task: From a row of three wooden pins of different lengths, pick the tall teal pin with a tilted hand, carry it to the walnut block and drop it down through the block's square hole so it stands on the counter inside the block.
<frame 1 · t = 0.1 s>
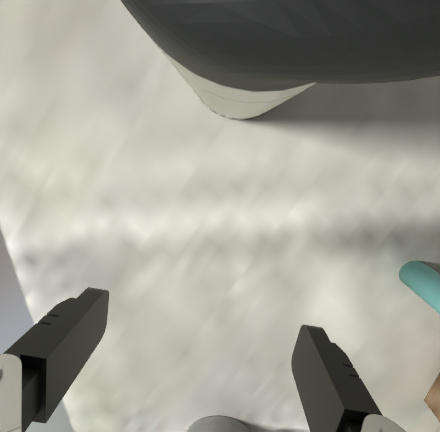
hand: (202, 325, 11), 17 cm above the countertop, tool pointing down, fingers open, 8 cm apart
teal pin: (413, 272, 29), on the countertop
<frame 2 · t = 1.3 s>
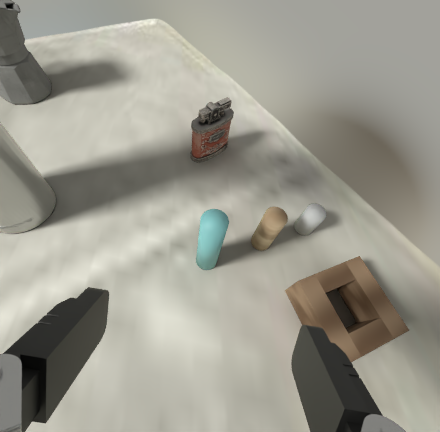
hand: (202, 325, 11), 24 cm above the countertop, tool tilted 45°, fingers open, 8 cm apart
grey pin: (303, 227, 42), on the countertop
beech pin: (260, 241, 40), on the countertop
teal pin: (206, 260, 37), on the countertop
walnut block: (332, 311, 36), on the countertop
coffeepot: (22, 89, 50), on the countertop
lighter: (209, 151, 48), on the countertop
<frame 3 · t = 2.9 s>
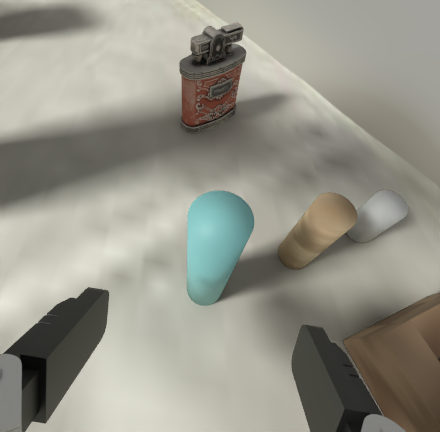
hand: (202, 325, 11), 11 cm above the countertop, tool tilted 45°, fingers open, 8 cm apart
grey pin: (358, 229, 27), on the countertop
beech pin: (293, 254, 24), on the countertop
teal pin: (204, 287, 22), on the countertop
walnut block: (429, 380, 20), on the countertop
lighter: (208, 118, 33), on the countertop
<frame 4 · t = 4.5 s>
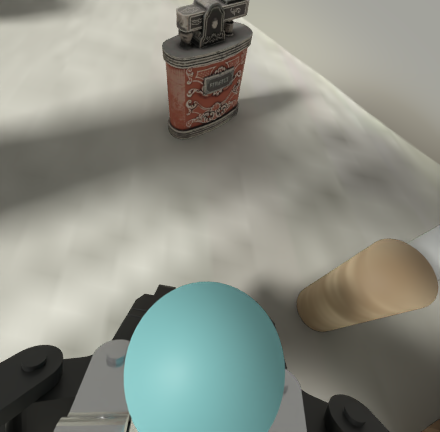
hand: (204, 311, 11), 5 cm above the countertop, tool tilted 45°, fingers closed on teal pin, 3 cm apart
grey pin: (402, 269, 20), on the countertop
beech pin: (318, 307, 18), on the countertop
teal pin: (193, 363, 15), on the countertop, touching gripper
lighter: (204, 120, 26), on the countertop
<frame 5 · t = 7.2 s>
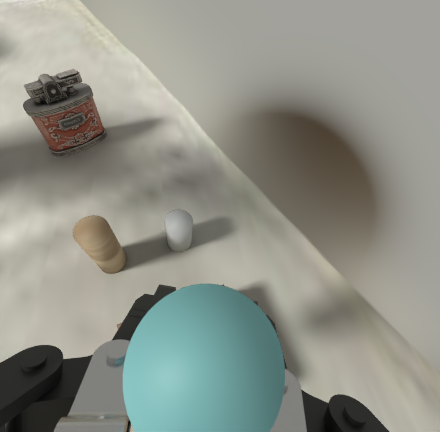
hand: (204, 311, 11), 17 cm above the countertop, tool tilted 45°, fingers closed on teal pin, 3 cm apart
grey pin: (179, 240, 32), on the countertop
beech pin: (113, 261, 30), on the countertop
teal pin: (193, 364, 15), point 12 cm above the countertop, touching gripper
lighter: (80, 143, 38), on the countertop
when the fingers open (7 cm above the countertop, at t = 9.8 s): teal pin drops 2 cm, resting in walnut block.
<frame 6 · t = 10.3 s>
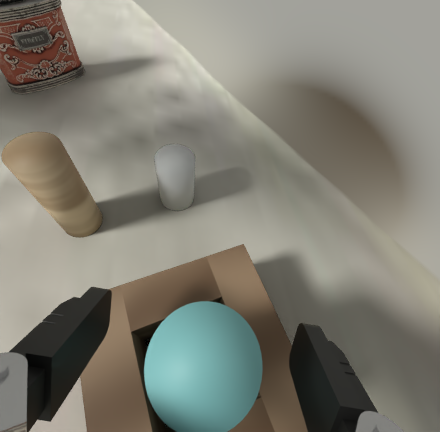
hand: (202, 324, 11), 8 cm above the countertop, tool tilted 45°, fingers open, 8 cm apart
grey pin: (177, 196, 23), on the countertop
beech pin: (83, 220, 21), on the countertop
teal pin: (194, 366, 17), resting in walnut block
walnut block: (192, 364, 17), on the countertop
lighter: (50, 80, 30), on the countertop
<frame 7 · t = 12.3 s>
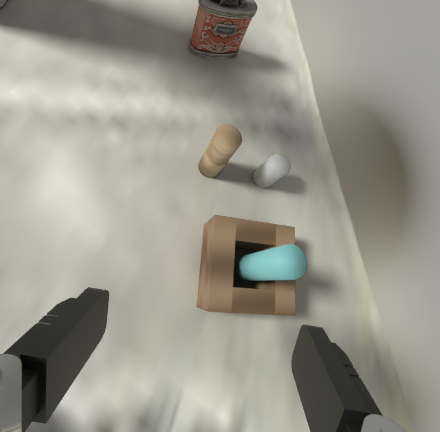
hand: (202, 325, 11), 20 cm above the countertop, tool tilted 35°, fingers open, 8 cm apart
grey pin: (262, 178, 37), on the countertop
beech pin: (209, 167, 35), on the countertop
teal pin: (239, 268, 33), resting in walnut block
walnut block: (238, 267, 33), on the countertop
lighter: (213, 50, 40), on the countertop
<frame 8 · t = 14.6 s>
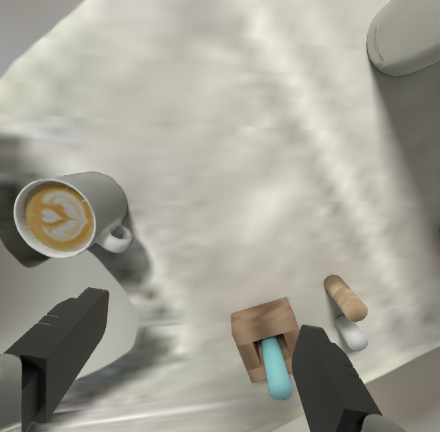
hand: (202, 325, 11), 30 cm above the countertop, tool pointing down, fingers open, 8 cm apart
coffee mug: (104, 211, 41), on the countertop
grey pin: (343, 322, 45), on the countertop
beech pin: (332, 283, 43), on the countertop
teal pin: (266, 329, 45), resting in walnut block
walnut block: (267, 329, 45), on the countertop
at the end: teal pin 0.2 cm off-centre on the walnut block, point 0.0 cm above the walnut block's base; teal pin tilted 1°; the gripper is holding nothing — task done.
